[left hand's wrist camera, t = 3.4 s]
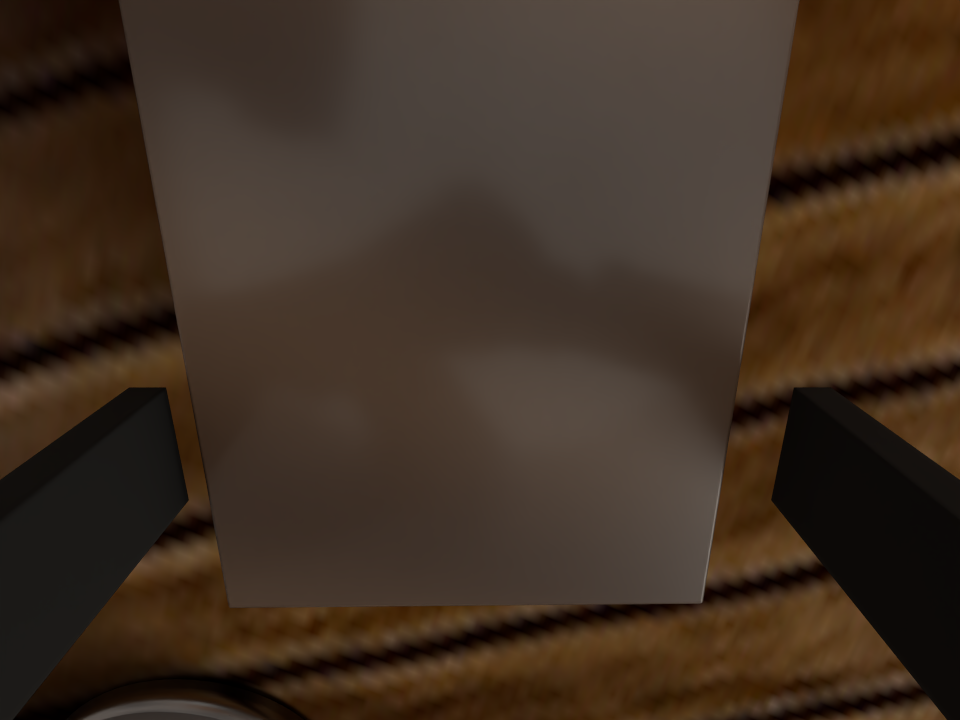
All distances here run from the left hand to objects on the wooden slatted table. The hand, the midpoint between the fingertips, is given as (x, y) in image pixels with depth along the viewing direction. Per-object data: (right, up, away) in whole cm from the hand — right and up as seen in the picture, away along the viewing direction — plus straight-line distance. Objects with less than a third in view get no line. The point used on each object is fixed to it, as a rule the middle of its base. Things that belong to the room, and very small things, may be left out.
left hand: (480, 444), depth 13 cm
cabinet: (0, +10, +7) cm, 12 cm away
